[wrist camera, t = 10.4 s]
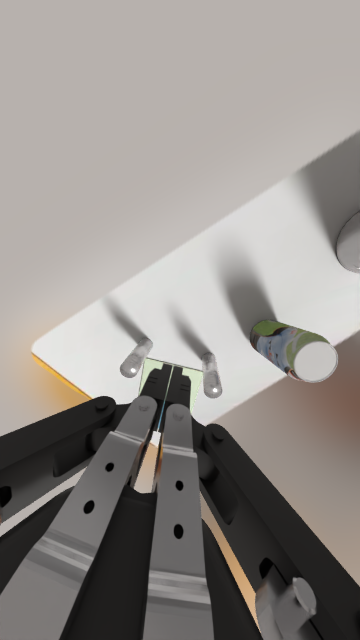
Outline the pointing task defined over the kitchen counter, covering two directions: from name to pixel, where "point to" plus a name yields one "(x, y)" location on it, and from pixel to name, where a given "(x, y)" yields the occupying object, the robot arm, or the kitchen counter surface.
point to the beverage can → (295, 350)
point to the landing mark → (151, 364)
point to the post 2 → (211, 376)
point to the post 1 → (136, 358)
